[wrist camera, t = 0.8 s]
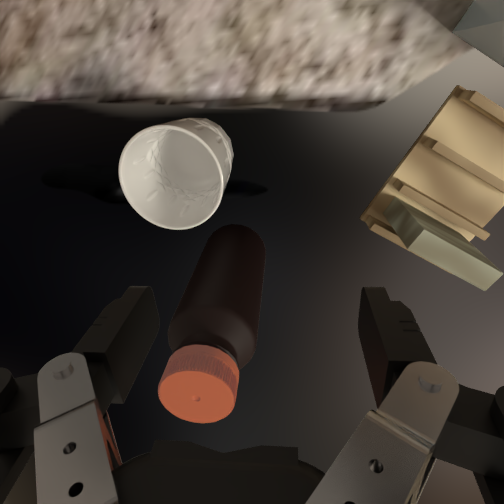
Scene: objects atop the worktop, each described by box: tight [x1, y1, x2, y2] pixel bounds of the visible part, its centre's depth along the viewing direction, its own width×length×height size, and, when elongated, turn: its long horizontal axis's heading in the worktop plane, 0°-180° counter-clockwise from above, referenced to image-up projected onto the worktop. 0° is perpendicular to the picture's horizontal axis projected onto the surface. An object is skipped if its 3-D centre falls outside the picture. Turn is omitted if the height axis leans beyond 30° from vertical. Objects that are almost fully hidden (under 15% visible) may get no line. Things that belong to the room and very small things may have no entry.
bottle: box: [158, 224, 266, 423], centre depth 30 cm, size 7×7×20 cm
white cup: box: [119, 118, 234, 230], centre depth 30 cm, size 8×8×10 cm
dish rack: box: [360, 85, 504, 291], centre depth 30 cm, size 14×11×9 cm
